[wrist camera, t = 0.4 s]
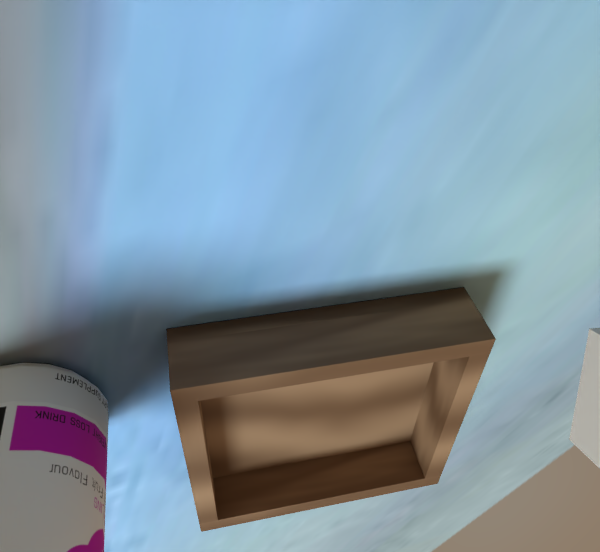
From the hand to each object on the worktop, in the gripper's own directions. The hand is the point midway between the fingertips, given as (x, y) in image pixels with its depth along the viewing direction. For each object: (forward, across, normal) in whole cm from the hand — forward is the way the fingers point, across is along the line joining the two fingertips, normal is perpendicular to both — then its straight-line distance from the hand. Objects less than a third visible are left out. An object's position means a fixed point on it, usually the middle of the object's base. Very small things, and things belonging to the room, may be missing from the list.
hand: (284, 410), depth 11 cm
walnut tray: (+22, +5, -13) cm, 26 cm away
